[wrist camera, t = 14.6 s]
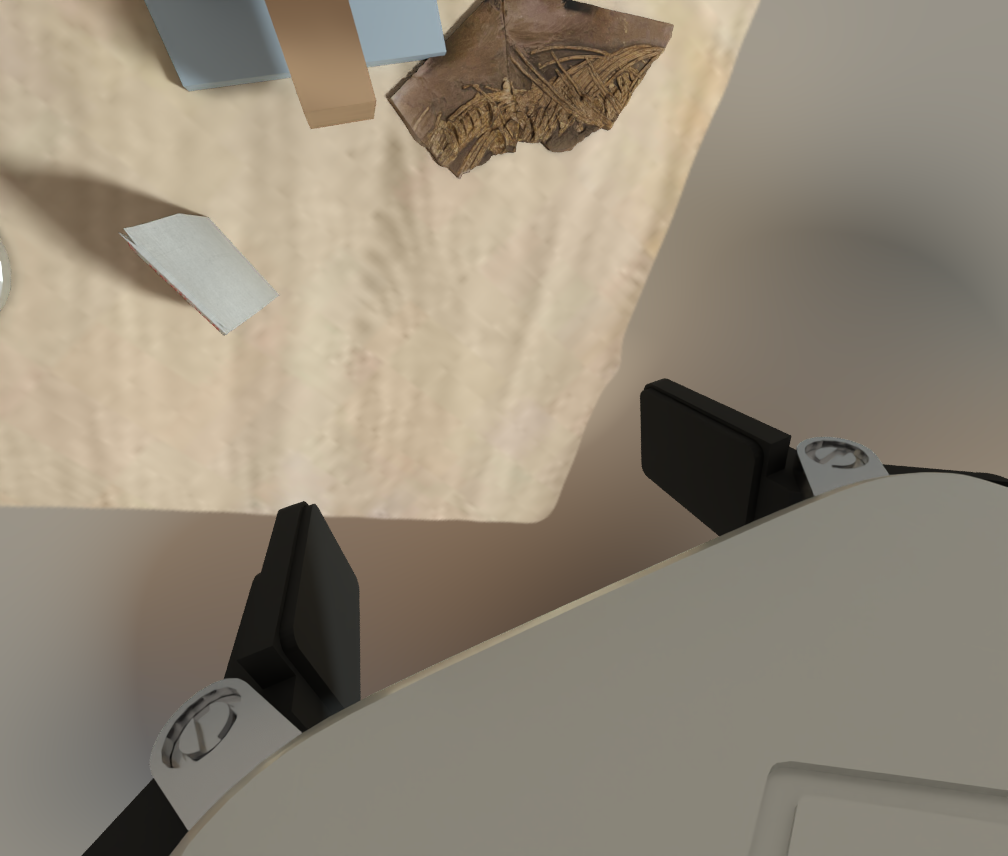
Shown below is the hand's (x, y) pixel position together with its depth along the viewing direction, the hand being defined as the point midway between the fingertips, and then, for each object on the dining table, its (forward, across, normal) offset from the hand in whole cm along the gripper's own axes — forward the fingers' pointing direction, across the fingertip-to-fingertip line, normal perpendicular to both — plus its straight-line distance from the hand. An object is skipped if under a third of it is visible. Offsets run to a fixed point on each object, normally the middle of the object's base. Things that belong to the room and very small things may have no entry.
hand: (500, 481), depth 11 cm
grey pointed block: (+31, +12, -6) cm, 33 cm away
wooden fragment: (+31, -17, -15) cm, 38 cm away
